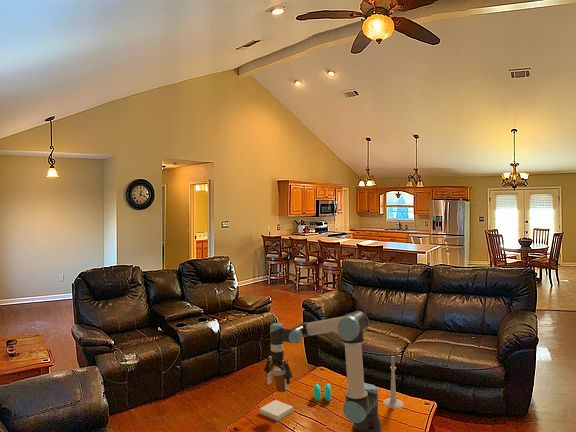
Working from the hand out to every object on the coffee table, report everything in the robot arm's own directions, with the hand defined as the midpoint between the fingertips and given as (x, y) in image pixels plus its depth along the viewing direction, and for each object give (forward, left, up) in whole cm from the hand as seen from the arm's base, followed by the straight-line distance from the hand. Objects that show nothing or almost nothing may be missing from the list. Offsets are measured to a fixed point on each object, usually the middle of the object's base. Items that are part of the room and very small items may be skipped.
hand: (278, 386), depth 240 cm
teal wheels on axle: (-11, -30, -16) cm, 36 cm away
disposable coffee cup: (-3, 0, -2) cm, 4 cm away
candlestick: (-48, -52, -16) cm, 72 cm away
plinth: (+1, 0, -16) cm, 16 cm away
